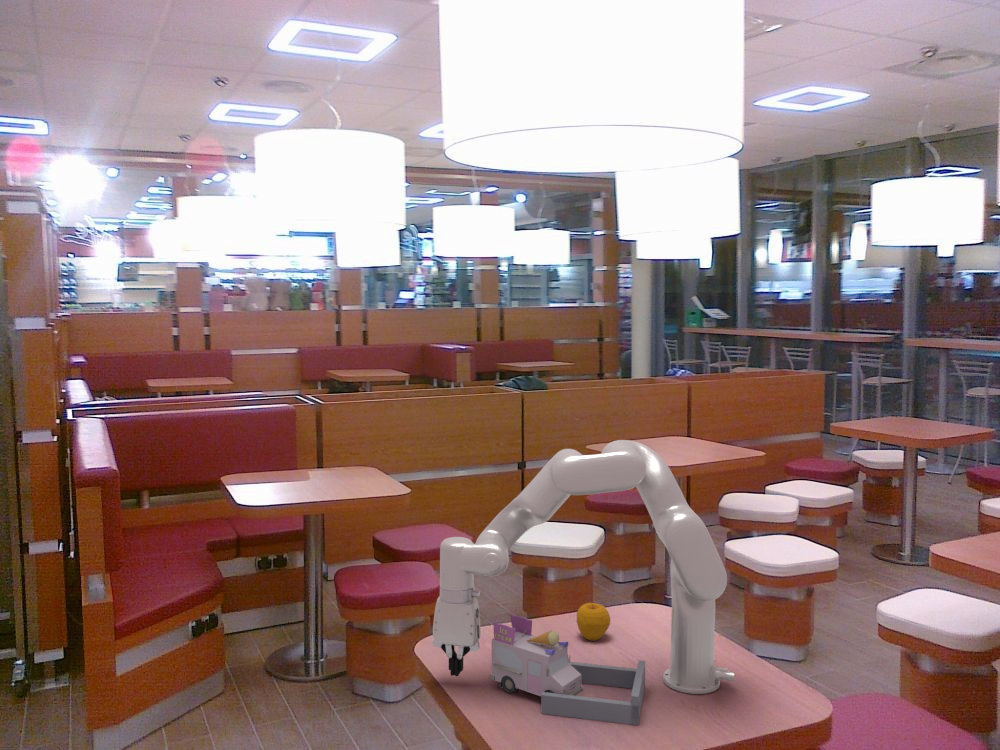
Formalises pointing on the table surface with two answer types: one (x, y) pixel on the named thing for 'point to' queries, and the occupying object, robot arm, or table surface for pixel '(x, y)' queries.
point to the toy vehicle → (532, 660)
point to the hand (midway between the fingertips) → (455, 673)
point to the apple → (593, 621)
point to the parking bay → (597, 706)
